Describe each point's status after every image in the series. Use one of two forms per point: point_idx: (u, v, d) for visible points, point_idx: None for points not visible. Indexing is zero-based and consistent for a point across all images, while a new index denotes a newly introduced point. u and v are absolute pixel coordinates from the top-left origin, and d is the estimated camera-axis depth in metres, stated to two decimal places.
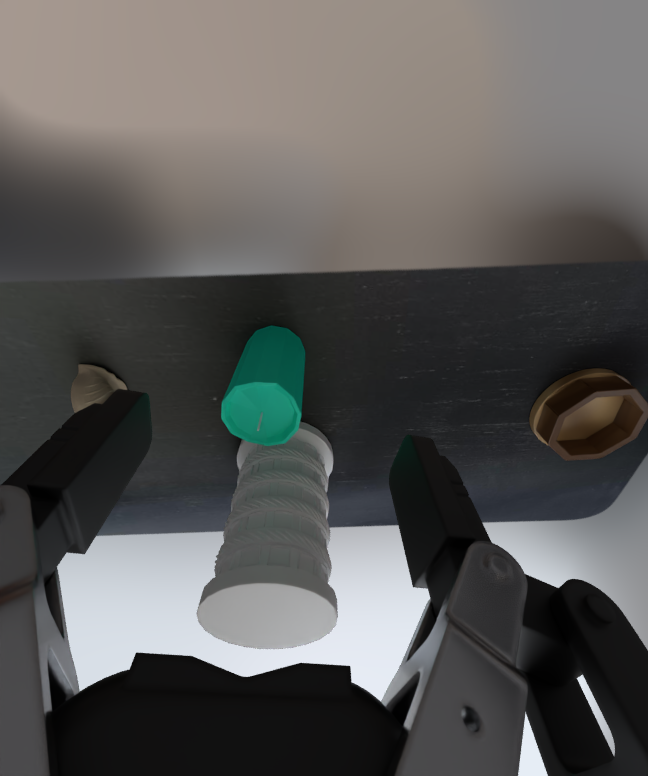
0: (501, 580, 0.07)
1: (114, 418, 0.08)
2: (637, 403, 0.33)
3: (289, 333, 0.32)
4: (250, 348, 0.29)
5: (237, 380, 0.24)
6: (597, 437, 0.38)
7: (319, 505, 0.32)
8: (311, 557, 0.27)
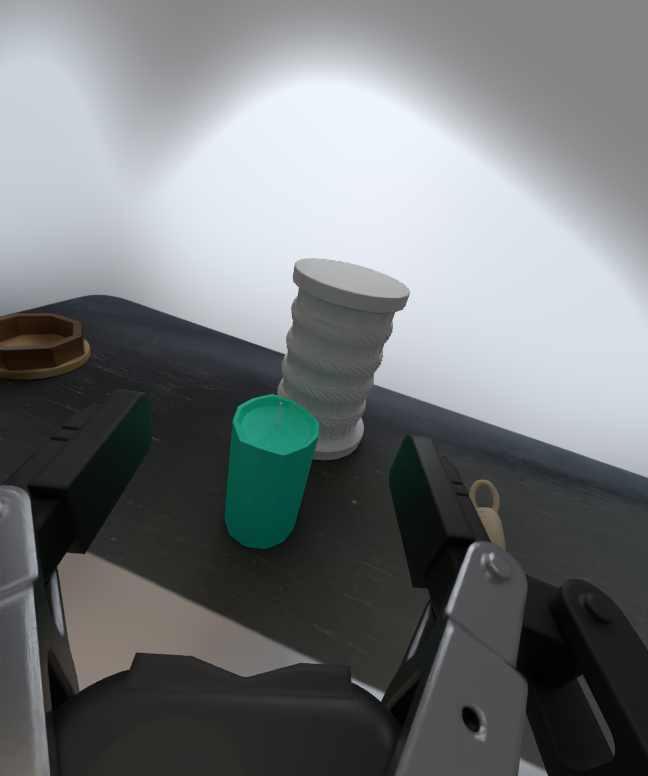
0: (501, 580, 0.07)
1: (114, 418, 0.08)
2: None
3: (229, 526, 0.26)
4: (270, 516, 0.24)
5: (281, 464, 0.21)
6: (43, 329, 0.42)
7: (288, 354, 0.34)
8: (300, 305, 0.30)
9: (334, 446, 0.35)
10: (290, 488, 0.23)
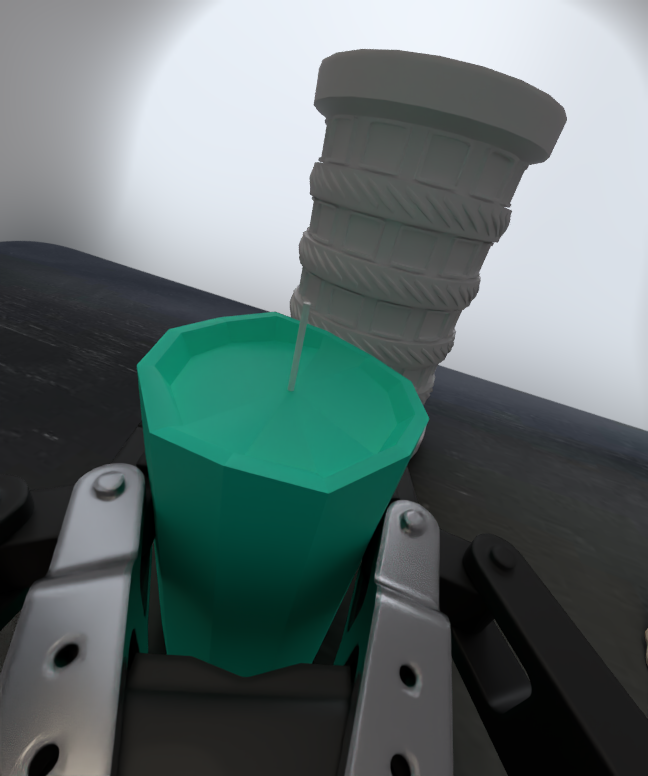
0: (414, 532, 0.07)
1: None
2: None
3: (167, 653, 0.10)
4: (269, 658, 0.08)
5: (315, 526, 0.05)
6: None
7: (302, 279, 0.18)
8: (331, 157, 0.15)
9: None
10: (334, 585, 0.07)
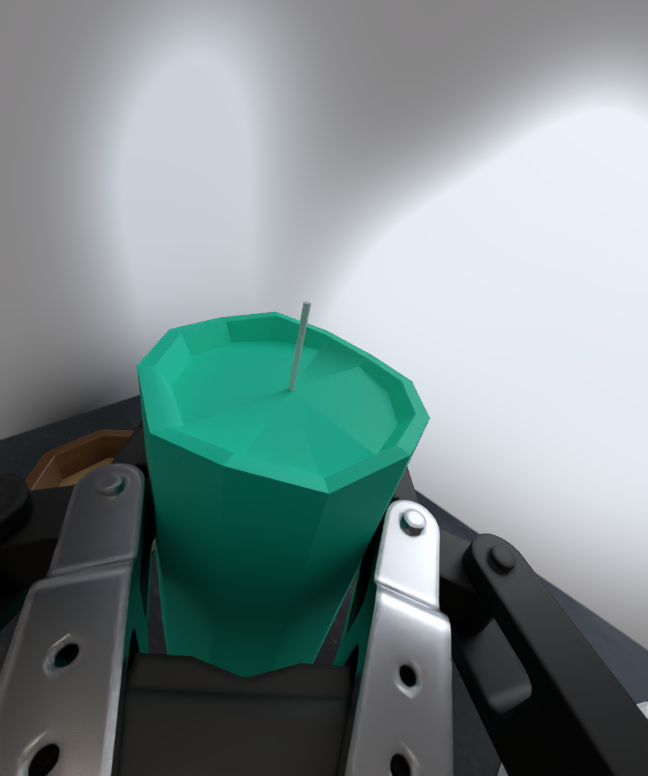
0: (414, 532, 0.07)
1: None
2: (40, 474, 0.22)
3: (167, 653, 0.10)
4: (270, 658, 0.08)
5: (316, 526, 0.05)
6: None
7: None
8: None
9: None
10: (334, 585, 0.07)
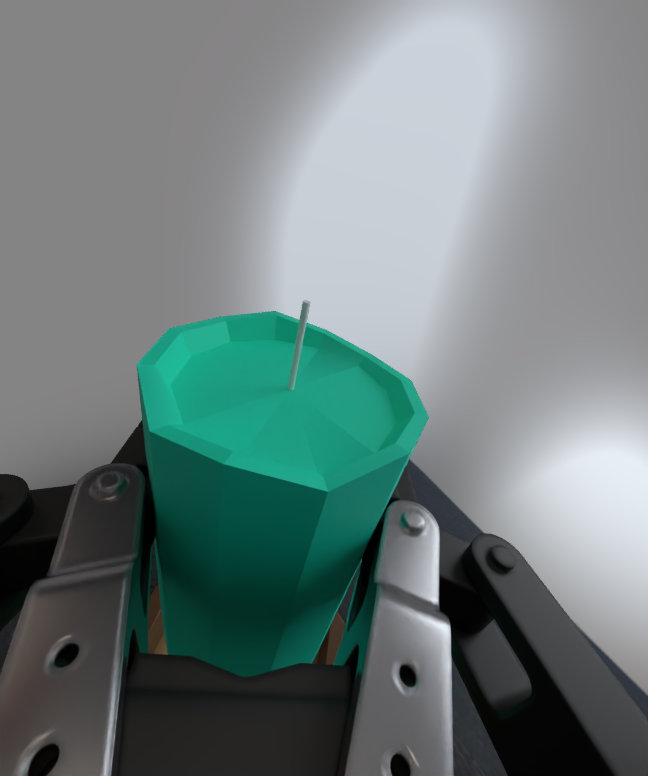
0: (414, 532, 0.07)
1: None
2: (153, 621, 0.15)
3: (168, 652, 0.10)
4: (270, 657, 0.08)
5: (315, 524, 0.05)
6: None
7: None
8: None
9: None
10: (334, 584, 0.07)
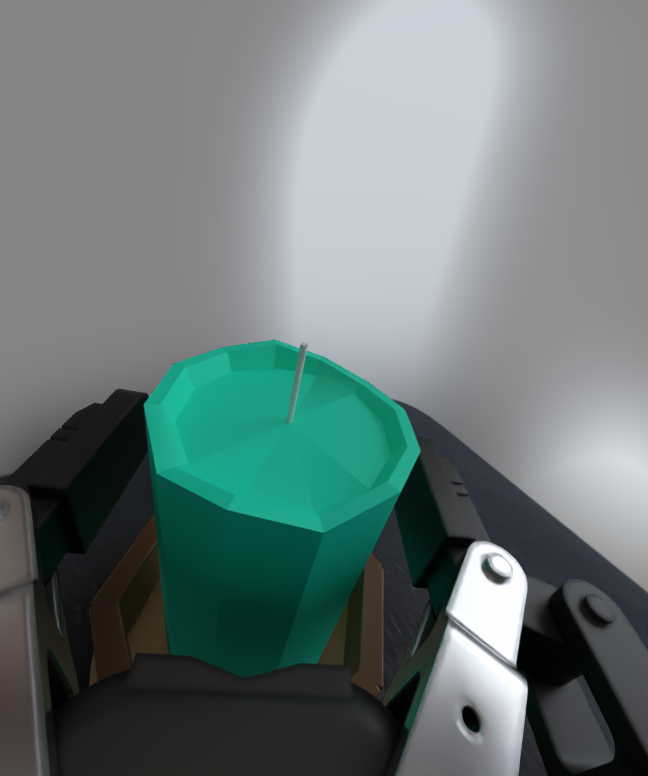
0: (501, 580, 0.07)
1: (114, 418, 0.08)
2: (146, 555, 0.12)
3: None
4: None
5: (312, 560, 0.06)
6: None
7: None
8: None
9: None
10: (331, 607, 0.08)
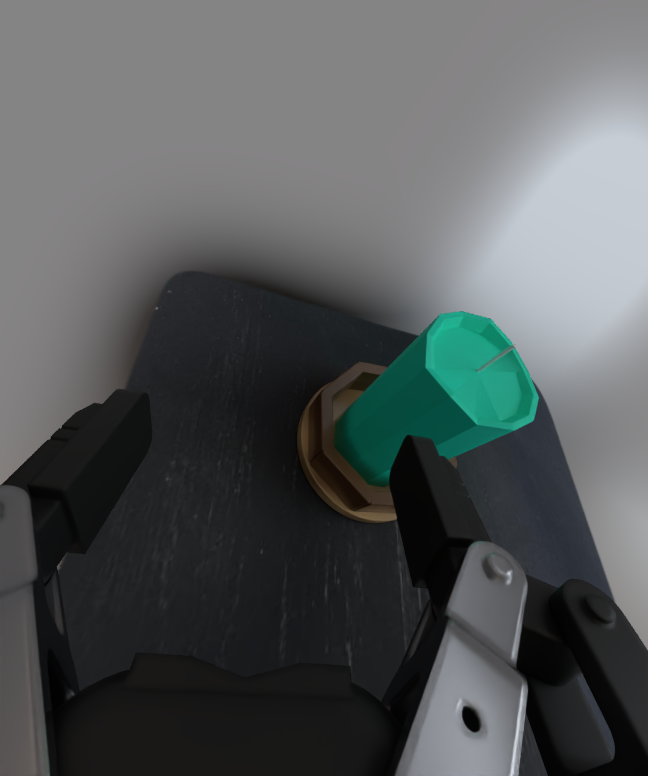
0: (501, 580, 0.07)
1: (114, 418, 0.08)
2: (347, 383, 0.21)
3: (337, 437, 0.21)
4: None
5: (462, 431, 0.14)
6: None
7: None
8: None
9: None
10: None
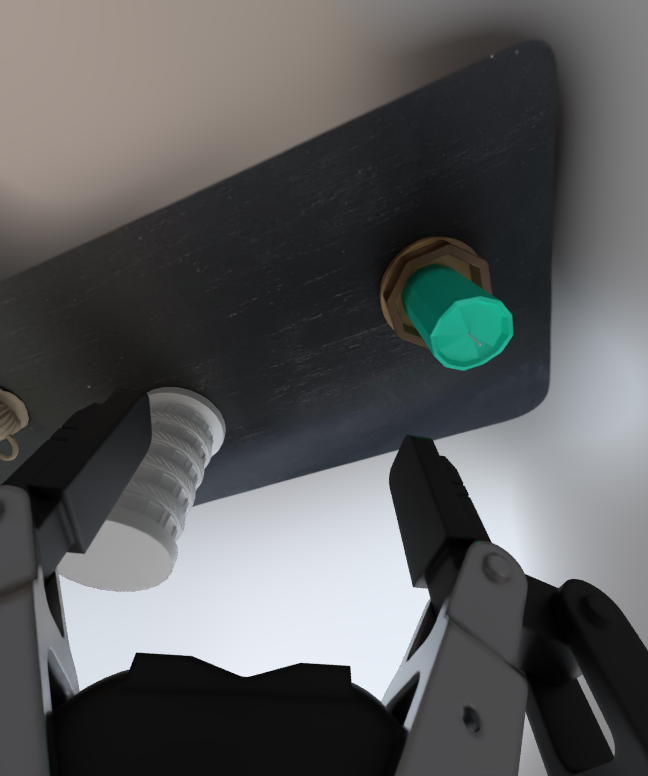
0: (501, 580, 0.07)
1: (114, 418, 0.08)
2: (464, 259, 0.29)
3: (424, 268, 0.32)
4: (411, 308, 0.30)
5: (427, 331, 0.26)
6: None
7: (172, 454, 0.34)
8: (135, 496, 0.28)
9: None
10: (420, 330, 0.28)
